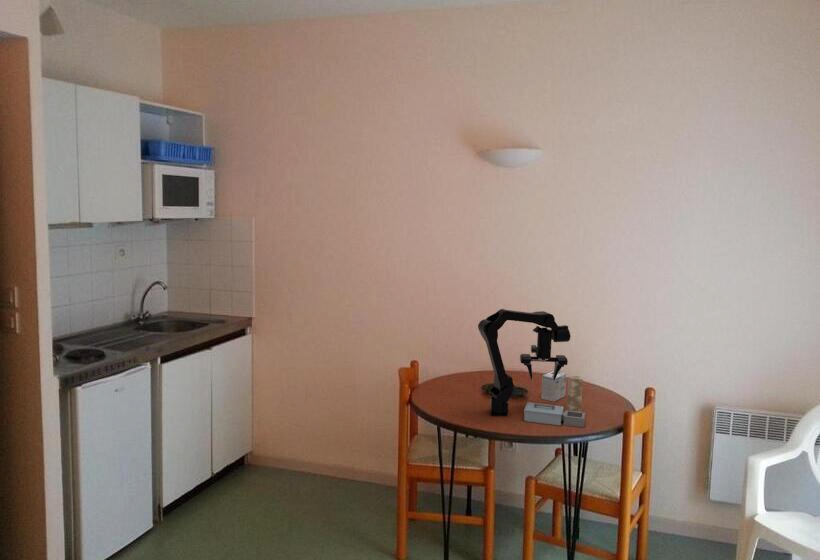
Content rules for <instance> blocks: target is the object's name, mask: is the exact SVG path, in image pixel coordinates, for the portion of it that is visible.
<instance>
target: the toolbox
mask: <svg viewBox="0 0 820 560" xmlns="http://www.w3.org/2000/svg"><path fill="white" fill-rule="evenodd" d="M564 410H565V411H564ZM523 413H524V414H523V415H524V418H523V420H524V422H529V423H537V424H545V425H554V426H561V424H562V422H563V426H570V427H577V428H584V426H585V422H586V412H584V411H581V412H576V411H568V410H567V409H565V406H562V405H556V404H555V405H554V404H546V403H539V402H530V401H528V402H526V405H525V408H524V410H523Z"/></svg>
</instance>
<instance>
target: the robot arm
mask: <svg viewBox="0 0 820 560" xmlns="http://www.w3.org/2000/svg"><path fill="white" fill-rule="evenodd" d="M507 321H512V322H513V321H514V322H522V323H523V322H524V323H531V324H535V325H537V326H536V327H535V328H534V327H533V328H532V332H534V333H537V338H536V339H537V341H536V344H531V346H530V353H531V354H535V356H531V354H530V353H520V355H519V361H520V363H521V364H523V366H526V368H527V371H528V373H529V377H530V378H529V379H530V380H533V368H532V367H533V365H532V362H546V363H547V362H548V363H554V369H553V371H554V374H553V380H555V378H556V376H557V374H558V372H560V371H561V368H563V367H565V366H567V365H568V358H567V357H566V356H565V355H564V354H563V355H562V354H555V357H553V356H551V355H552V341H553V342H554V343H566V342H567V343H568V342H570V341H571V337H572V336H571V332H570V329H569V326H568V325H566V324H564V325H558V324H557V323H556V319H555V316H554V315H553V314H552V313H550V312H546V311H543V310H541V311H534V312H527V311H519V310H510V309H509V310H508V309H505V308H501V309H499V310H497V311H496V312H495V313H493V314H491V315H489V316H488V317H486V318H484V319H482V320H480V321H479V323H478V324H477V328H478V331H479V333H480V336H481V337H482V339H483V340H484V342H485V343H486V347H487V351H488V355H489V358H490V363H491V366H492V369H493V374H494V376H493V384H494V385H493V386H492V387H491V388H490V389H489V390H488V394H489V396H490V408H489V413H490V415H491V416H503V417H504V416H505V417H507V416H508V412H509V400H510V398H511V395H513V392H514V390H515V389H514V387H515V384H514V383H513V382H514V381H513V380H514V379H513V377H512V376H511V375H509V374H508V373H506V369H505V366H504V363H503V359H502V354H501V351H500V350H501V349H500V347H499V343H498V338H499V330H500V329H501V328H503V325H504V324H505V323H506V322H507ZM540 326H541V327H540Z"/></svg>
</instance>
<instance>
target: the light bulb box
mask: <svg viewBox="0 0 820 560" xmlns="http://www.w3.org/2000/svg"><path fill="white" fill-rule="evenodd" d="M553 374H554V370H552V371H550V372H548V373H546V374H543V375H541V376H542V379H541V380H542V381H541V400H542V399H543V400H546V401H550V402H556V401H558V400H561V399H563V398H564V397H566V389H567V388H566V387H567V373H566V372H562V371H559V372H558V374H557V376H556V378H555V380H553Z"/></svg>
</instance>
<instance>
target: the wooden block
mask: <svg viewBox="0 0 820 560" xmlns="http://www.w3.org/2000/svg"><path fill="white" fill-rule="evenodd" d="M567 382H568V384H567V385H568V386H567V400H566V402H567V403H566V410H568V411H576V412H582V401H583V400H582V398H583V382H584V379H583V378H582V377H581V376H579V375H568V381H567Z"/></svg>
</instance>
